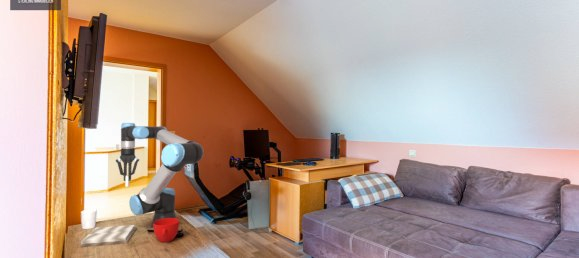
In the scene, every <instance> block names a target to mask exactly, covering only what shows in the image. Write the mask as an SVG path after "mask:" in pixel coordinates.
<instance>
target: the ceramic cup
mask: <svg viewBox="0 0 579 258" xmlns="http://www.w3.org/2000/svg"><path fill="white" fill-rule="evenodd" d="M153 227H154V228H153V233H154V236H155V238H156V239H157V240H158V241H159V242H160V243H169V242H172V241H174V238H175V237H176V236H177V234H178V233H179V228H180V220H179V219H178V218H177V219H176V218H164V219H159V220H157V221H155V222H154V223H153Z"/></svg>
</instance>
